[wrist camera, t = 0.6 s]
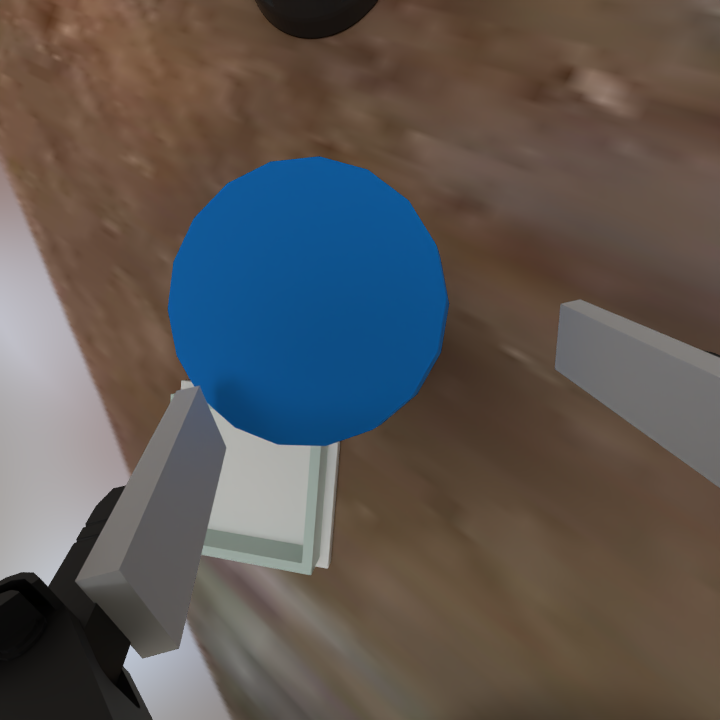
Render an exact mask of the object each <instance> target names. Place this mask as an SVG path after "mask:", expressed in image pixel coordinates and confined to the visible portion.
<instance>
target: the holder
mask: <svg viewBox="0 0 720 720" xmlns="http://www.w3.org/2000/svg"><path fill="white" fill-rule="evenodd" d="M191 387H194V385H193V384H192V382H191V380H183V381H181V390H182V389H187V388H191ZM174 395H175V393H174V394H171V401H172V399H173V397H174ZM207 404H208V403H207ZM208 406H209V408H210V411H211V413H212V415H213V418H214V420H215V422H216V425H217V427H218V429H219V431H220V434H221V436H222V438H223V441H224V443H225V445H226V452H225V456H224V461H223V465H222V469H221V473H220V477H219V482H218V486H217V490H216V494H215V499H214V503H213V507H212V511H211V515H210V520H209V524H208V528H207V532H206V536H205V541H204V545H203V549H202V553H201V555H206V556H211V557H217V558H222V559H227V560H233V561H238V562H243V563H249V564H254V565H259V566H265V567H270V568H275V569H281V570H286V571H291V572H297V573H302V574H307V575H311V574H312V572H313V570H314V568H315V566H316V567H322V568H327V569H328V567H329V565H330V563H331V552H332V540H333V527H334V515H335V502H336V489H337V477H338V464H339V452H340V441H339V442H336V443H333V444H330V445H327V446H304V445H277V444H275V443H272V442H270V441H267V440H265V439H262V438H260V437H257V436H255V435H252V434H250V433H247V432H245V431H242V430H240V429H237V428H235V427H234V426H232V425H231V424H230V423H229V422H228V421H227V420H226V419H225V418H223V417H222V416H221V415H220V414H219V413H218V412H217V411H216V410H214V409H213V408H212V407H211V406H210V405H209V404H208Z"/></svg>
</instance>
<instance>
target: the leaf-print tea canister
mask: <svg viewBox="0 0 720 720" xmlns="http://www.w3.org/2000/svg"><path fill="white" fill-rule="evenodd" d="M448 308H449V300H448V295H447V290H446V285H445V280H444V274H443V269H442V264H441V259H440V254H439V251H438V248H437V245H436V244H435V242H434V241H433V239H432V237H431V236H430V234H429V232H428V231H427V229H426V228H425V226H424V224H423V223H422V221H421V220H420V218H419V216H418V215H417V213H416V211H415V210H414V208H413V207H412V205H411V203H410V202H409V200H407V199H406V198H405V197H403V196H402V195H401V194H399V193H398V192H397V191H395V190H394V189H393V188H391V187H390V186H389V185H387V184H386V183H385V182H383V181H382V180H381V179H379V178H378V177H377V176H375V175H374V174H373V173H371V172H370V171H369V170H367V169H364V168H360V167H356V166H353V165H349V164H345V163H342V162H338V161H334V160H331V159H327V158H323V157H320V156H319V157H309V158H300V159H291V160H281V161H272V162H269V163H267V164H265V165H263V166H261V167H259V168H257V169H255V170H253V171H251V172H249V173H247V174H245V175H243V176H241V177H239V178H237V179H235V180H233V181H231V182H229V183H227V184H226V185H225V186H224V187H223V188H222V189H221V190H220V192H219V193H218V194H217V195H216V196H215V197H214V198H213V199H212V200H211V201H210V202H209V203H208V204H207V205H206V206H205V207H204V208H203V209H202V210H201V211H200V212H199V213H198V215H197V216H196V217H195V218H194V219H193V221H192V223H191V226H190V228H189V230H188V232H187V234H186V236H185V238H184V240H183V243H182V245H181V247H180V249H179V251H178V253H177V255H176V258H175V260H174V262H173V270H172V278H171V287H170V295H169V303H168V313H169V318H170V323H171V329H172V334H173V339H174V344H175V349H176V354H177V357H178V359H179V360H180V362H181V364H182V366H183V368H184V369H185V371H186V373H187V375H188V376H189V378H190V380H191V382H192V384H193V385H194V387H196V386H200V388H201V390H202V392H203V395H204V397H205V399H206V402H207V403H208V404H209V405H210V406H211V407H212V408H213V409H214V410H216V411H217V412H218V413H219V414H220V415H221V416H222V417H223V418H225V419H226V420H227V421H228V422H229V423H230V424H231V425H232V426H234V427H235V428H237V429H240V430H242V431H245V432H247V433H250V434H252V435H255V436H257V437H260V438H262V439H265V440H267V441H270V442H272V443H275V444H277V445H304V446H327V445H330V444H333V443H336V442H339V441H342V440H345V439H347V438H350V437H353V436H356V435H359V434H362V433H365V432H367V431H370V430H373V429H374V428H376V427H378V426H379V425H381V424H382V423H383V422H385V421H386V420H387V419H388V418H389V417H391V416H392V415H393V414H394V413H395V412H397V411H398V410H399V409H400V408H401V407H403V406H404V405H405V404H406V403H407V402H409V401H410V400H411V399H412V398H413V397H415V396H416V395H417V394H418V392H419V390H420V388H421V387H422V385H423V383H424V381H425V380H426V378H427V376H428V374H429V373H430V371H431V369H432V367H433V366H434V364H435V362H436V360H437V359H438V357H439V355H440V353H441V350H442V344H443V338H444V332H445V326H446V320H447V314H448Z"/></svg>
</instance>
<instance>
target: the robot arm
mask: <svg viewBox="0 0 720 720" xmlns="http://www.w3.org/2000/svg"><path fill="white" fill-rule="evenodd" d="M255 1H256V3H257V5H258V7H259V8H260V10H261V12H262V13H263V14H264V16H265V17H266V18H267V19H268V20H269V21H270V22H271V23H272V24H273V25H274V26H276V27H277V28H278V29H280V30H282V31H284V32H286V33H288V34H291V35H294V36H298V37H304V38H318V37H325V36H329V35H332V34H335V33H338V32H340V31H342V30H344V29H346V28H348V27H350V26H351V25H353V24H354V23H356V22H357V21H358V20H360V19H361V18H362V17H363V16H364V15H365V14H366V13H367V12H368V11H369V10H370V9H371V8H372V7H373V5H374V4H375V3H376V1H377V0H255ZM555 369H556V370H557V371H558V372H560V373H561V374H563V375H564V376H565V377H567V378H568V379H569V380H571V381H572V382H574V383H575V384H576V385H578V386H579V387H581V388H582V389H583V390H585V391H586V392H588V393H589V394H590V395H592V396H593V397H594V398H596V399H597V400H599V401H600V402H601V403H603V404H604V405H606V406H607V407H608V408H610V409H611V410H612V411H614V412H615V413H617V414H618V415H619V416H621V417H622V418H624V419H625V420H626V421H628V422H629V423H631V424H632V425H633V426H635V427H636V428H637V429H639V430H640V431H642V432H643V433H644V434H646V435H647V436H649V437H650V438H651V439H653V440H654V441H655V442H657V443H658V444H660V445H661V446H662V447H664V448H665V449H667V450H668V451H669V452H671V453H672V454H674V455H675V456H676V457H678V458H679V459H680V460H682V461H683V462H685V463H686V464H687V465H689V466H690V467H692V468H693V469H694V470H696V471H697V472H698V473H700V474H701V475H703V476H704V477H705V478H707V479H708V480H710V481H711V482H712V483H714V484H715V485H717V486H718V487H719V488H720V355H718V354H715V353H712V352H708V351H704V350H700V349H698V348H695V347H693V346H690V345H688V344H686V343H683V342H681V341H678V340H676V339H674V338H671V337H669V336H667V335H664V334H662V333H659V332H657V331H655V330H652V329H650V328H647V327H645V326H643V325H640V324H638V323H635V322H633V321H631V320H628V319H626V318H623V317H621V316H619V315H616V314H614V313H611V312H609V311H607V310H604V309H602V308H600V307H597V306H595V305H592V304H590V303H588V302H585V301H583V300H575V301H571V302H567V303H562V304H561V306H560V317H559V328H558V338H557V349H556V360H555ZM225 452H226V445H225V443H224V441H223V438H222V436H221V434H220V431H219V429H218V427H217V425H216V422H215V420H214V418H213V415H212V413H211V411H210V408H209V406H208V404H207V402H206V399H205V397H204V395H203V392H202V390H201V388H200V386H196V387H191V388H187V389H182V390H178V391H176V393H175V395H174V397H173V399H172V401H171V402H170V404H169V406H168V408H167V410H166V412H165V414H164V416H163V417H162V419H161V421H160V423H159V425H158V427H157V429H156V431H155V432H154V434H153V436H152V438H151V440H150V442H149V444H148V445H147V447H146V449H145V451H144V453H143V455H142V457H141V459H140V460H139V462H138V464H137V466H136V468H135V470H134V472H133V474H132V475H131V477H130V479H129V481H128V483H127V485H126V486H122V487H118V488H113V489H112V490H111V491H110V492H109V493H108V495H107V496H106V497H104V498H103V499H102V501H100V502H99V503H98V505H97V506H96V507H95V509H94V510H93V512H92V514H91V515H90V517H89V519H88V521H87V522H86V527H84V528H83V529H82V531H81V532H80V534H79V536H78V537H77V542H76V543H74V544H73V546H72V547H71V549H70V551H69V552H68V554H67V556H66V558H65V559H64V561H63V563H62V564H61V566H60V568H59V569H58V571H57V573H56V574H55V576H54V578H53V580H52V581H51V583H50V585H49V586H47V585H46V584H45V583H44V582H43V581H42V580H41V579H40V578H39V577H38V576H37V575H36V574H34V573H25V572H23V573H19V574H16V575H13V576H10V577H7V578H5V579H3V580H1V581H0V720H152V717H151V715H150V713H149V712H148V709H147V707H146V705H145V703H144V701H143V699H142V697H141V695H140V693H139V691H138V690H137V687H136V685H135V683H134V681H133V679H132V678H131V676H130V673H129V672H128V671H127V670H126V669H125V668H124V667H123V664H124V661H125V658H126V655H127V652H128V649H129V647H130V645H131V646H132V647H133V648H134V649H135V650H136V652H137V653H138V654H139V655H140V656H141V657H142V658H146V657H150V656H154V655H157V654H160V653H164V652H168V651H171V650H175V649H179V646H180V642H181V638H182V634H183V629H184V625H185V621H186V617H187V612H188V608H189V604H190V600H191V596H192V591H193V587H194V583H195V579H196V574H197V570H198V566H199V562H200V558H201V553H202V549H203V545H204V541H205V536H206V532H207V528H208V524H209V520H210V515H211V511H212V507H213V503H214V499H215V494H216V490H217V486H218V482H219V477H220V473H221V469H222V465H223V461H224V456H225Z"/></svg>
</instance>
